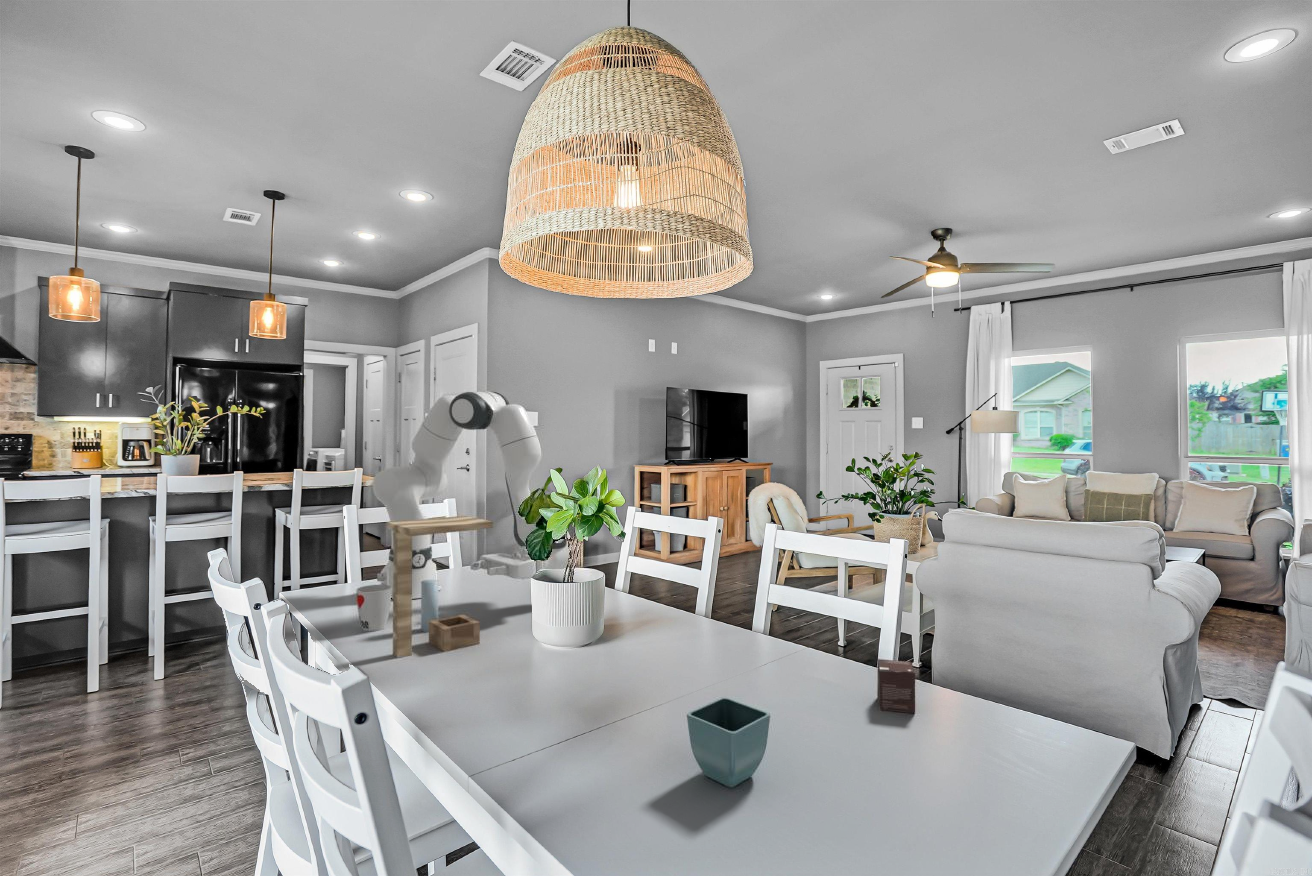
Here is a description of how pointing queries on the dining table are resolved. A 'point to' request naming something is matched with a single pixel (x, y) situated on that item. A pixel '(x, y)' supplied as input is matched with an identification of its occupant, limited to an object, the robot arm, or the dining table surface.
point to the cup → (373, 606)
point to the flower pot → (728, 739)
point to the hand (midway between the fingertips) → (479, 569)
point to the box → (896, 686)
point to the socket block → (454, 632)
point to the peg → (428, 603)
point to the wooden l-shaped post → (404, 568)
